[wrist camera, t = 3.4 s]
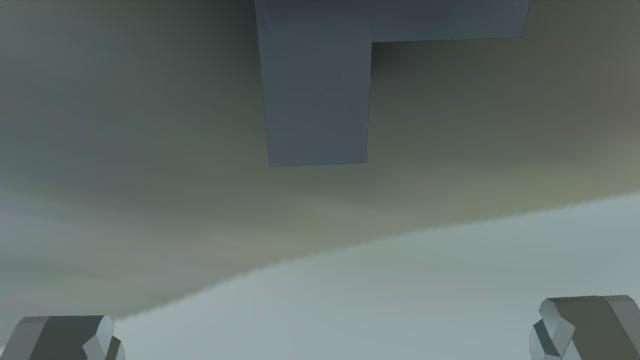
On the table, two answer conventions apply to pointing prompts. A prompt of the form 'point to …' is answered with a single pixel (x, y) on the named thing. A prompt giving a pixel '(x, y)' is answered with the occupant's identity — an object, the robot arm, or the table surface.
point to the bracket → (349, 64)
